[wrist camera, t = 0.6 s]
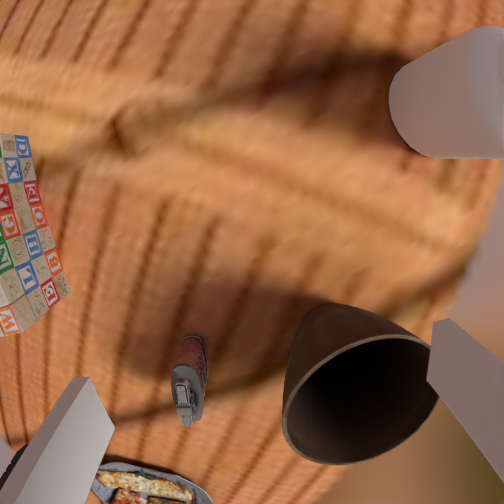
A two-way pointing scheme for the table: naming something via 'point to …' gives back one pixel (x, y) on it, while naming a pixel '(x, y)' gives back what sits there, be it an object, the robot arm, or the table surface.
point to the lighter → (190, 379)
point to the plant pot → (354, 386)
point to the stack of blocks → (24, 243)
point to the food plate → (143, 486)
